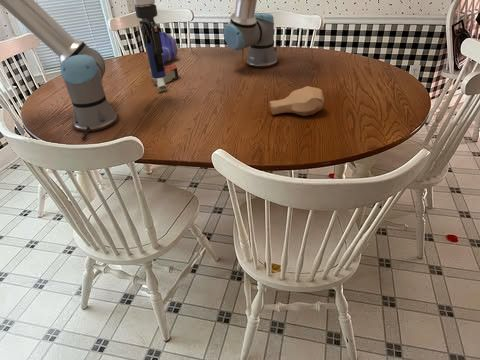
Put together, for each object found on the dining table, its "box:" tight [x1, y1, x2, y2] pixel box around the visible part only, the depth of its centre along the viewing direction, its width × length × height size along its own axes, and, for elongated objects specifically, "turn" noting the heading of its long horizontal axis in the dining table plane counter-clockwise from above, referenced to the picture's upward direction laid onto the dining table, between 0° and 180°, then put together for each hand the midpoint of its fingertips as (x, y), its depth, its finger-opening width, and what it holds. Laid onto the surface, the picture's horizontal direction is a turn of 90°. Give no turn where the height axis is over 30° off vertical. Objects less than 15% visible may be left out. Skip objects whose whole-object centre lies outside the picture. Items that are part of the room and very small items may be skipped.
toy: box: [159, 31, 178, 64], centre depth 182 cm, size 10×17×25 cm
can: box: [145, 42, 166, 78], centre depth 138 cm, size 6×6×12 cm
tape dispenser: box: [148, 64, 179, 93], centre depth 162 cm, size 18×5×20 cm
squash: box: [268, 85, 325, 117], centre depth 129 cm, size 11×20×9 cm, turn 92°
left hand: (157, 69), depth 140 cm, fingers closed on can, 5 cm apart
